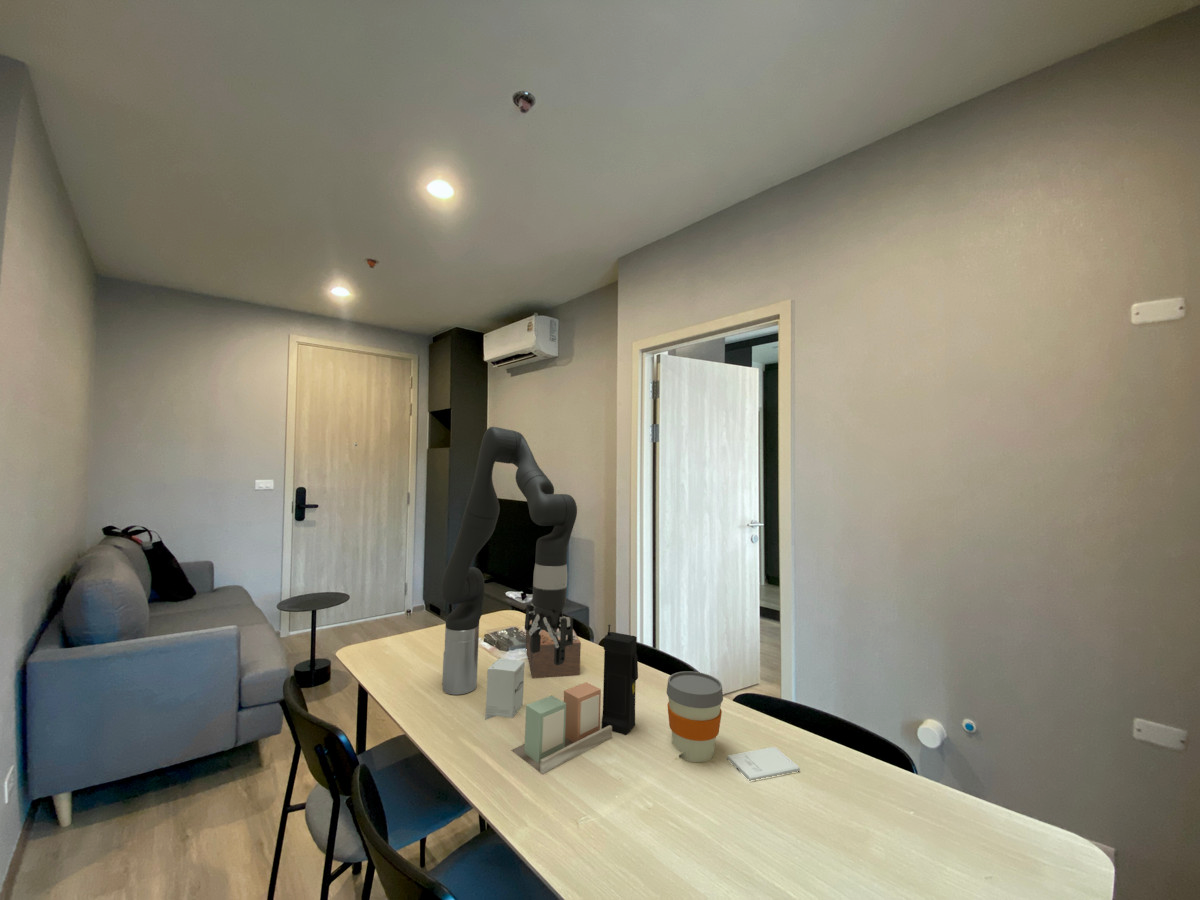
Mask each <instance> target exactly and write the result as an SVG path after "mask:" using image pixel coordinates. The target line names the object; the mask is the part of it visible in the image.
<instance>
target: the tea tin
mask: <svg viewBox="0 0 1200 900" xmlns="http://www.w3.org/2000/svg"><path fill="white" fill-rule="evenodd" d="M565 725H566V703H565V702H564V700H561V699H559V698H557V697H555V696H554V695H552V694H551V695H548V696H547V697H544V698H540V699H538V700H536V701H534V702H531V703H528V704H526V705H525V730H524V744H525V751H524V753H525V754H526V755H528V756H529V757H530V758H532V759H533V760H534V761H536V762H537V763H538V764H539V763H540V760H541V759H543V758H545V757H547V756H549V755H551V754H553V753H555V752H557V751H559V750H561V749H563V748H565Z"/></svg>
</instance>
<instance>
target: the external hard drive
mask: <svg viewBox="0 0 1200 900" xmlns="http://www.w3.org/2000/svg"><path fill="white" fill-rule="evenodd" d="M726 760H727V761H728V760H729V761H730V762H729V761H728V762H729V763H730V764H731V763H732V764H733V765H734V766H735V767H736V768H735V767H734V766H733V765H732V764H731V765H732V766H733V767H734V768H735V769H737V768H738V769H737V770H738V771H739V772H741V773H742V774H743V775H744V776H745V777H746V778H747V779H749V781H751V780H756V779H761V778H766V777H772V776H777V775H782V774H787V773H792V772H797V771H801V770H800V766H799V765H798V764H797V763H795V762H794V761H793V760H791V759H790V758H789V757H788V756H786V754H784V753H783V752H782V751H781V750H780V749H779V748H777V746H770V747H765V748H760V749H755V750H750V751H745V752H744V751H743V752H739V753H734V754H729V755H726ZM741 773H740V774H741ZM742 774H741V775H742ZM743 775H742V776H743ZM744 776H743V777H744ZM745 777H744V778H745ZM746 778H745V779H746ZM747 779H746V780H747ZM749 781H748V782H749Z"/></svg>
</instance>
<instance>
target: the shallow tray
mask: <svg viewBox="0 0 1200 900" xmlns="http://www.w3.org/2000/svg"><path fill="white" fill-rule="evenodd" d="M612 738H613V731H612V726H611V725H609V726H607V727H605V728H603V729H602V728H600V730H599V731H597V732H595V733H593V734H591V735H589V736H587V737H585V738H583V739H581V740H579V741H577V742H575V743H573V742H572V741H570V740H569V739H567V738H566V737H565V748H563V749H561V750H559V751H557V752H555V753H553V754H551V755H549V756H547V757H545V758H543V759H541V760H540V763H539V764H538V763H537V762H536V761H534V760H533V759H532V758H530V757H529V756H528V755H526V754H525V753H524V751H525V743H523V744H521V745H518V746H517V747H515V748H512V749H510V751H511V752H512V753H514V754H515V755H516V756H518V758H520V759H522V760H523V761H524V762H526V763H527V764H528V765H529V766H531V767H533V769H534V770H536V771H537V772H539V773H540V774H541V775H544V774H546V773H547V772H549V771H551V770H553V769H555V768H557V767H559V766H561V765H563V764H564V763H566V762H568V761H570V760H572V759H574V758H576V757H578V756H579V755H582V754H583V753H585V752H588V751H589V750H591V749H592V748H594V747H596V746H599V745H601V744H602V743H604V742H606V741H608V740H610V739H612Z"/></svg>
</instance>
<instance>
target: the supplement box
mask: <svg viewBox="0 0 1200 900" xmlns="http://www.w3.org/2000/svg"><path fill="white" fill-rule="evenodd" d="M486 678H487V681H486V697H485V698H486V702H485V717H484V718H485V719H484V720H485V721H487V720H489V719H492V718H495V717H503V718H510V719H511V718H514V717H515V716H516V714H517V713H518V712H519V710H520V709H521V707H523V705H524V685H525V660H520V659H513V658H512V659H511V658H510V659H509V658H502V657H501V658H498V659H497V660H495V661H494V662H493V663H492V664H491V665H490V666H489V667H488V668H487V677H486Z"/></svg>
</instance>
